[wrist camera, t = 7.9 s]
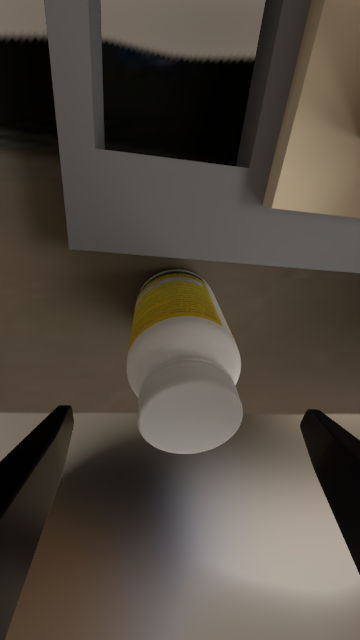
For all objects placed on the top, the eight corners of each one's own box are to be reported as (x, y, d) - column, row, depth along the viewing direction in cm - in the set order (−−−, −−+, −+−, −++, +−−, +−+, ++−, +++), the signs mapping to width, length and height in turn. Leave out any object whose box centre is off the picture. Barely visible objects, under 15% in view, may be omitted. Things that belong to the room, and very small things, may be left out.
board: (582, -135, 10) (697, -219, 8) (383, 265, 18) (415, 277, 16) (39, -311, 8) (-6, -500, 6) (81, 238, 15) (69, 249, 13)
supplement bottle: (119, 298, 18) (83, 416, 9) (184, 250, 16) (214, 334, 8) (167, 349, 20) (176, 481, 11) (227, 310, 19) (287, 425, 10)
